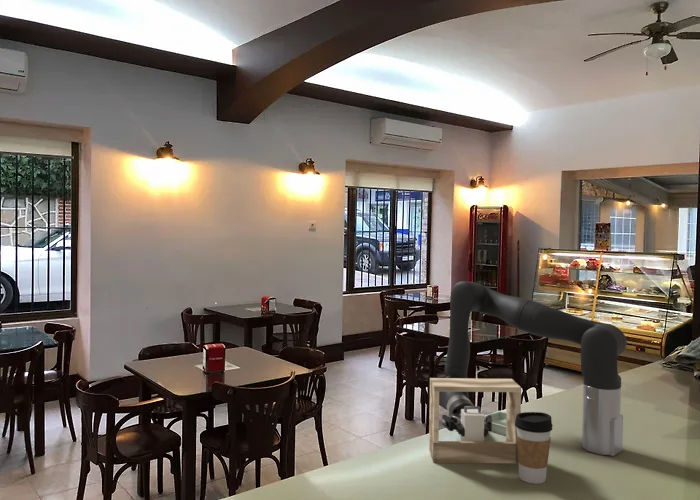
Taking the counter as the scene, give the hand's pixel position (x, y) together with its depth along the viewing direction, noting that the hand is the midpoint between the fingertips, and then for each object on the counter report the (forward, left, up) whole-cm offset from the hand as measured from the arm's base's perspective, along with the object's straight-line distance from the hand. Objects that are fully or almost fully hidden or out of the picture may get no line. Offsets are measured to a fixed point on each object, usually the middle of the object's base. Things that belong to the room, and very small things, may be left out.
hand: (474, 432), depth 145 cm
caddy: (+2, -2, -7) cm, 7 cm away
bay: (+1, -1, -7) cm, 7 cm away
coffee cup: (-16, 0, -7) cm, 18 cm away
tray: (+6, -26, -7) cm, 27 cm away
